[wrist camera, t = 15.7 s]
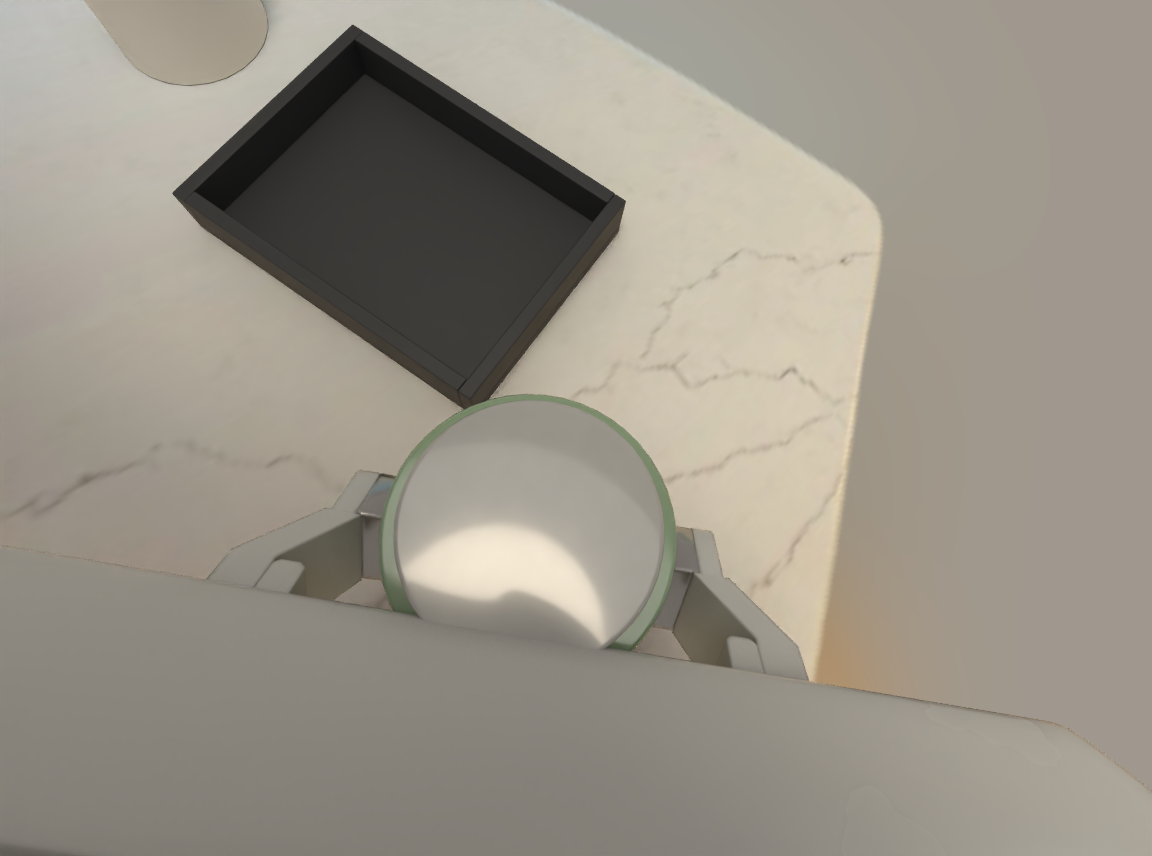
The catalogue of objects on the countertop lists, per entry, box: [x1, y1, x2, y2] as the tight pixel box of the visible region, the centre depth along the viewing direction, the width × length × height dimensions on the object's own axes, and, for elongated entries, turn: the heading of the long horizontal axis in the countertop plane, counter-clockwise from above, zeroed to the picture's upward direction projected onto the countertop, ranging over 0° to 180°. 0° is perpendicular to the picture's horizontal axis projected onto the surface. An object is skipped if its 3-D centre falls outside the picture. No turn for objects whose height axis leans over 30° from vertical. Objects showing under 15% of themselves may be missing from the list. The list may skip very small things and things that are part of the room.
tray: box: [172, 25, 626, 409], centre depth 35 cm, size 20×15×3 cm
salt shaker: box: [378, 394, 677, 651], centre depth 15 cm, size 5×5×10 cm
